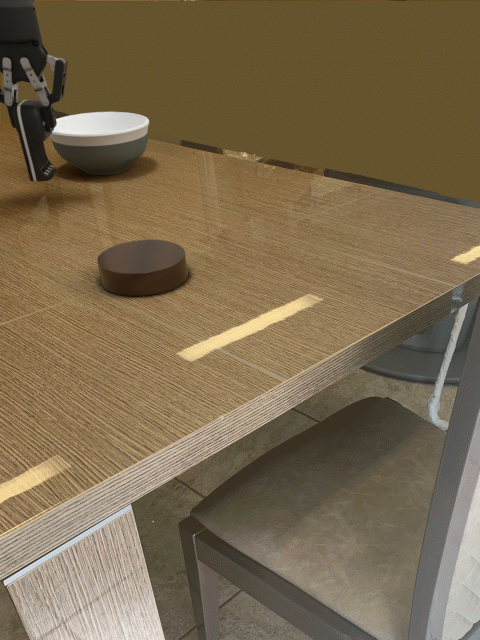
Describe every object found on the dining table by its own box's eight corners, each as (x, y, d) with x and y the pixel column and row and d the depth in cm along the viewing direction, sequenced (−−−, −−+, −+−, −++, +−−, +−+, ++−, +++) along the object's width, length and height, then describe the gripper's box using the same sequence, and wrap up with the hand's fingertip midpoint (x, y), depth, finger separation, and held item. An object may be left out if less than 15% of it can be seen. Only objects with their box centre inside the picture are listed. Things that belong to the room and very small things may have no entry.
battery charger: (54, 183, 104) (36, 105, 97) (29, 183, 104) (10, 106, 97) (62, 171, 110) (46, 97, 103) (39, 171, 109) (22, 97, 102)
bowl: (144, 182, 116) (136, 134, 111) (41, 183, 116) (29, 134, 111) (164, 155, 131) (157, 111, 126) (72, 155, 131) (62, 111, 126)
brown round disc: (93, 297, 79) (88, 274, 77) (111, 261, 88) (106, 240, 86) (183, 294, 80) (180, 272, 78) (191, 259, 88) (189, 238, 87)
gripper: (-56, 3, 89) (-18, 136, 99) (49, 5, 90) (76, 136, 100) (-36, 0, 95) (-2, 125, 105) (63, 1, 96) (86, 125, 106)
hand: (36, 130), depth 102 cm, fingers closed on battery charger, 4 cm apart
